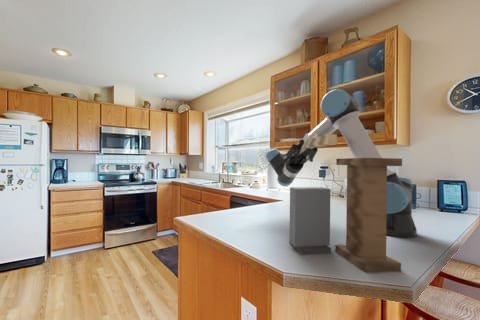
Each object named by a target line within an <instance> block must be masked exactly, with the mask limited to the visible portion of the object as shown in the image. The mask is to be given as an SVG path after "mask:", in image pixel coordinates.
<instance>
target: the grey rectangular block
mask: <svg viewBox="0 0 480 320" xmlns="http://www.w3.org/2000/svg"><path fill="white" fill-rule="evenodd" d="M288 232H289V239H288V241H289V244H290V246H292V248H294V249H295V251H297V252H298V253H299V254H300V255H318V254H319V255H320V254H332V248H331V247H330V246H331V188H328V187H323V186H322V187H316V186H315V187H314V186H313V187H310V186H309V187H308V186H307V187H292V186H291V187H289V231H288Z"/></svg>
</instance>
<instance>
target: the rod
mask: <svg viewBox="0 0 480 320" xmlns="http://www.w3.org/2000/svg"><path fill="white" fill-rule="evenodd" d="M337 140H338V135H337V134H333V133H332V134H327V135H323V136H320V137H316V138H312V139H309V140H308V142H307V144H306V145H305V147H304V148H303V149H309V148H315V147H317V148H320V147H326V146H332V145H337V144H338V141H337ZM301 148H302V147H301Z"/></svg>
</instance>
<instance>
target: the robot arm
mask: <svg viewBox="0 0 480 320" xmlns="http://www.w3.org/2000/svg"><path fill="white" fill-rule="evenodd" d="M320 110H321V112H322V113H323V114H324V116H326V118H324V120H322V121H321V122H320V123H319V124H318V125H317V126H316V127H315V128H313V130H311V131H310V132H305V134H304V136H303V138H302V139H300V140H299V142H298V143H293V144H292V145H291V146H290V148H289V149H288V150H287V152H286V153H281V151H280V150H279V149H278V148H272V149H271V150H269V151H268V152H267V153H266V154H265V158H266V159H267V162H268V163H269V164H270V166H271V168H272V169H273V170H274V171H275V174H276V175H277V179H276V180H277V183H278V184H279V185H280V186H282V187H288V186H290V185H291V184H292V183H293V182H294V180H295V179H296V177H297V176H298V174H299V173H300V171H301V170H302V169H303V167H304V165H305V164H306V163H307V162H308V161H310V162H311V163H312V162H313V161H314V158H315V156H316V155H317V153H318V147H315V148H309V149H303V148H304V147H305V145H306V144H307V142H308V140H309V139H312V138H316V137H320V136H323V135H327V134H333V133H335V132H336V130H338V131H339V132H340V134H341V136H342V137H343V140H344V141H345V143H346V144H347V147H348V148H349V150H350V152H351V154H352V155H353V158H383V157H382V156H381V154H380V152H379V151H378V149H377V147H376V145H375V144H374V142H373V140H372V139H371V137H370V135H369V134H368V131H367V130H366V129H365V127H364V125H363V123H362V122H361V120H360V118H359V117H360V114H361V112H360V110H359V104H358V101H357V100H356V99H355V98H354V97H352V96H351V95H350V94H349V93H348V92H347V91H346V90H343V89H340V88H339V89H338V88H336V89H332V90H330V91H328V92H327V93H326V94H325V95H324V96H323V97H322V99H321V102H320ZM301 147H302V148H301ZM412 183H413V182H412V180H411V179H410V178H407V177H400V176H398V174H397V173H396V171H394V170H390V169H389V167H387V214H386V236H392V237H396V238H397V237H399V238H415V237H417V236H418V235H417V234H418V231H417V230H418V229H417V227H416V225H415V222H414V218H413V216H412V214H413V213H412V211H413V210H412V207H413V204H412V203H413V202H412V200H413V198H412V197H413V196H412V190H413V184H412Z"/></svg>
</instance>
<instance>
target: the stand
mask: <svg viewBox="0 0 480 320" xmlns="http://www.w3.org/2000/svg"><path fill="white" fill-rule="evenodd" d="M335 163H336V164H335V165H337V166H346V227H345V230H346V231H345V233H346V235H345V242H346V243H345V244H335V247H334V248H335V250H334V251H335V253H338V254H339V255H340V256H342V257H344V259H346V260H347V261H349V262H350V263H352V264H354V265H355V266H356V267H357V268H359V269H361V270H362V271H364V272H365V273H367V274H372V273H388V272H391V273H392V272H402V263H401V262H399V261H397V260H396V259H393V258H392V257H390V256H388V255H387V235H386V214H387V168H388V167H402V166H403V158H389V157H388V158H387V157H384V158H383V157H382V158H355V157H353V158H350V157H349V158H336V161H335Z"/></svg>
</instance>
